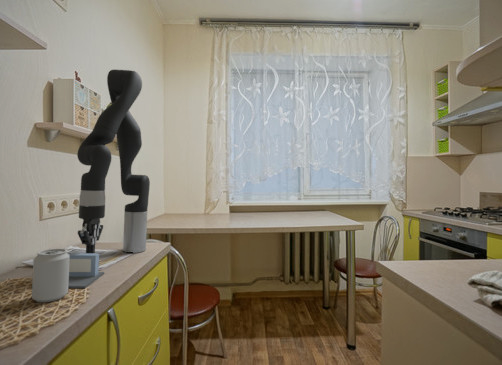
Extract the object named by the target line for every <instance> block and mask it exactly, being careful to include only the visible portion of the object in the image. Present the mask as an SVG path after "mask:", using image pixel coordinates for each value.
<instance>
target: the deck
mask: <svg viewBox="0 0 502 365" xmlns="http://www.w3.org/2000/svg"><path fill="white" fill-rule="evenodd" d="M68 254H69V255H70V259H69V277H95V276H96V275H98V272H100V270H99V266H100V253H96V252H95V253H86V252H85V253H84V252H83V253H82V252H81V253H80V252H79V253H77V252H75V253H72V252H70V253H68Z"/></svg>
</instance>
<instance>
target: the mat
mask: <svg viewBox="0 0 502 365" xmlns="http://www.w3.org/2000/svg"><path fill="white" fill-rule="evenodd" d="M104 274H105V272H104V271H99V272H98V275H96V276H95V277H69V283H68V289H87V288H88V287H89V286H90V285H92V284H93V283H95V281H97V280H98V279H99V278H101V277H102V276H103V275H104Z"/></svg>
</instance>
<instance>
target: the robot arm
mask: <svg viewBox="0 0 502 365" xmlns="http://www.w3.org/2000/svg"><path fill="white" fill-rule="evenodd" d="M106 77H107V78H106V81H107V82H106V83H107V89H108V93H109V98H110V102H111V104H110V105H109V106H107V107H106V108H105V109H104V110H103V111H102V112H101V113H100V114H99V116H98V117H97V120H96V122H95V123H94V124H95V125H94V126H93V127H92V130H91V132H90V133H89V134H88V135H87V136H86V138H85V139H84V140H83V141H82V143H81V144H80V145H79V147H78V149H77V160H78V161H79V163H80V164H82V165H84V166H90V168H89V171H88V172H85V173H84V172H83V174H82V175H81V178H80V194H79V200H78V202H79V203H78V204H79V205H78V219H81V220H83V221H82V227H81V230H78V231H77V235H78V238H79V239H80V241H81V244H82V245H85V253H96V244H97V242H98V241H99V240H100V238H101V235H102V232H103V229H104V224H103V225H102V224H101V219H104V218H105V214H106V178H107V175H108V173H109V170H110V166H111V164H112V163H111V162H112V152H111V149H109V147H108V146H106V145H108V144H111V143H113V142H114V140H115V137H116V143H117V148H118V149H117V150H118V157H119V166H120V186H121V191H122V194H123V195H125V196H133V197H134V196H135V197H138V198H137V200H134V201H133V202H130V203H127V204H125V205H124V216H123V218H124V219H123V237H122V238H123V242H122V252H123V251H125V252H124V253H126V252H133V253H132V254H136V253H143V252H145V251H146V250H147V230H148V229H147V228H148V207H149V196H150V195H149V194H150V184H151V183H150V182H151V181H150V178H149V176H148V175H146V174H132V165H133V163H134V160H136V158H137V156H138V154H139V152H140V151H141V149H142V145H143V144H142V143H143V142H142V141H143V140H142V132H141V127H140V125H139V124H138V121H136V119H135V117H134V116H133V115H132V114H131V112H130V109H131V108H132V106H133V104H134V103H135V102H136V100H137V99H138V97H139V96H140V93H141V91H142V89H143V80H142V77H141V76H140V74H139V73H138V72H137V71H135V70H129V69H111V70H109V71H108V73H107V76H106Z"/></svg>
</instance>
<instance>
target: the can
mask: <svg viewBox="0 0 502 365" xmlns="http://www.w3.org/2000/svg"><path fill="white" fill-rule="evenodd" d="M67 252H68V249H66V248H49V249H43V250H39V251H37V253H36V256H35V257H34V258H33V261H32V262H33V263H32V285H31V298H32V300H34V301H36V302H37V303H50V302H55V301H58V300H61V299H63V298H64V297H65V296H66V295H67V294H68V293H69V288H68V283H69V259H70V255H69V253H67Z"/></svg>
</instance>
